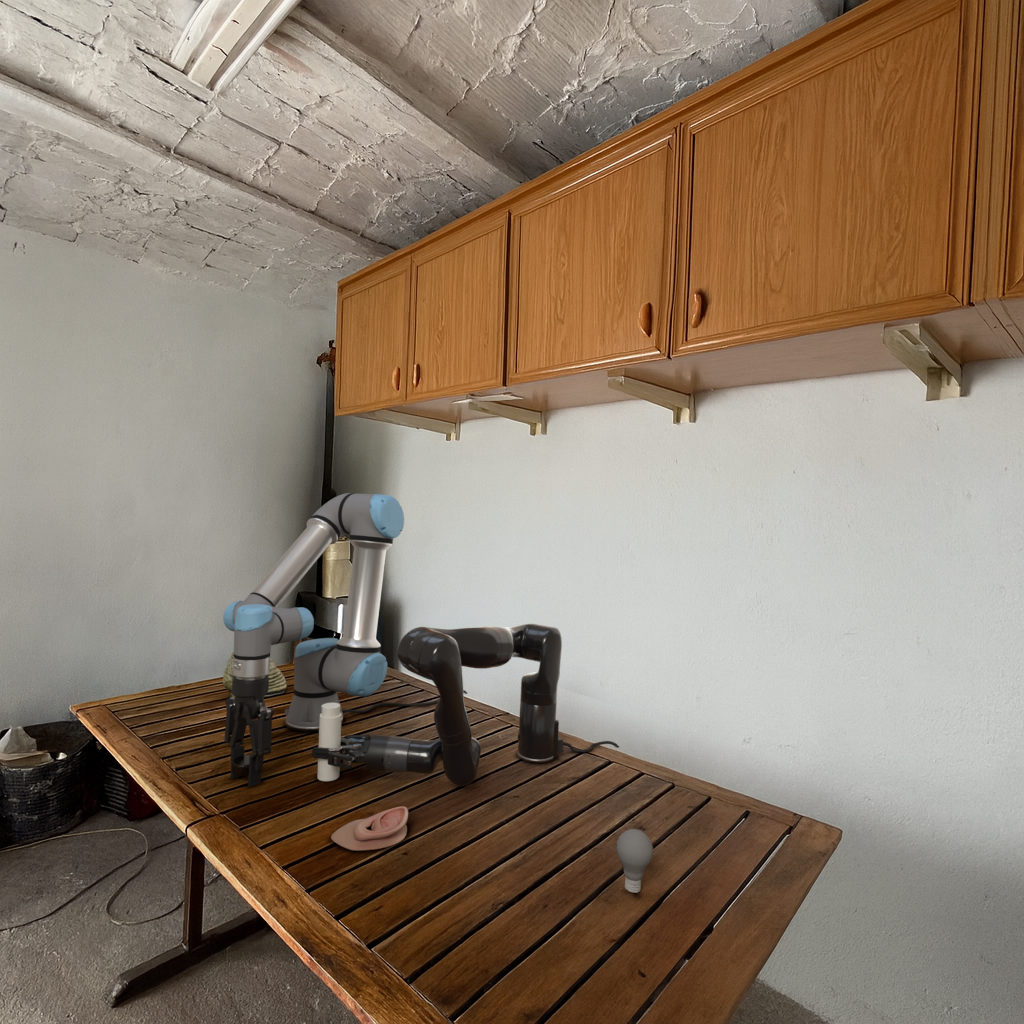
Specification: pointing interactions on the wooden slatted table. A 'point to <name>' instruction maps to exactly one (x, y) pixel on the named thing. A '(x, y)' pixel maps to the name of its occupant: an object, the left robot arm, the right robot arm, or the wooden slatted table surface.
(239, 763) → the lid
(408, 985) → the wooden slatted table surface
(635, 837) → the light bulb
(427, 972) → the wooden slatted table surface
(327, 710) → the jar
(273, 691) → the fossil
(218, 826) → the wooden slatted table surface
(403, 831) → the anatomical model
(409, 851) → the wooden slatted table surface
